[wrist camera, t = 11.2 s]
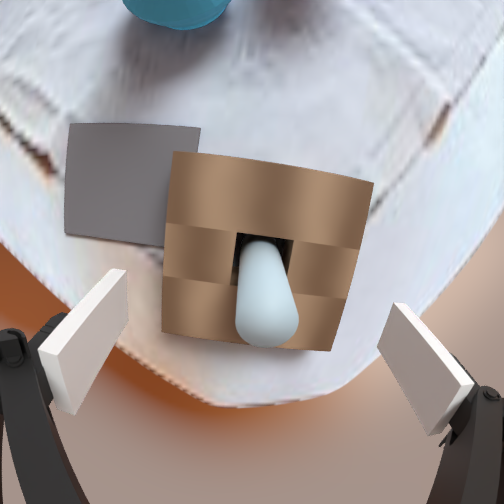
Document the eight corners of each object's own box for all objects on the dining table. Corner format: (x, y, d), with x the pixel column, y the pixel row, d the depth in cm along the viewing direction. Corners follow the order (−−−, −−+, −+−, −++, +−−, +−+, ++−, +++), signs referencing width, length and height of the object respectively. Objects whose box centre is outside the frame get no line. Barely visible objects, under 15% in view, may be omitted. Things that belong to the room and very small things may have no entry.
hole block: (171, 309, 27) (161, 332, 24) (184, 151, 23) (173, 150, 19) (320, 327, 28) (330, 351, 24) (355, 178, 24) (373, 183, 20)
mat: (66, 231, 25) (64, 232, 25) (72, 123, 22) (70, 123, 22) (186, 248, 26) (185, 249, 25) (200, 128, 23) (199, 127, 22)
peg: (238, 262, 26) (232, 344, 15) (243, 227, 25) (239, 290, 14) (273, 266, 26) (291, 350, 15) (279, 232, 25) (304, 297, 14)
